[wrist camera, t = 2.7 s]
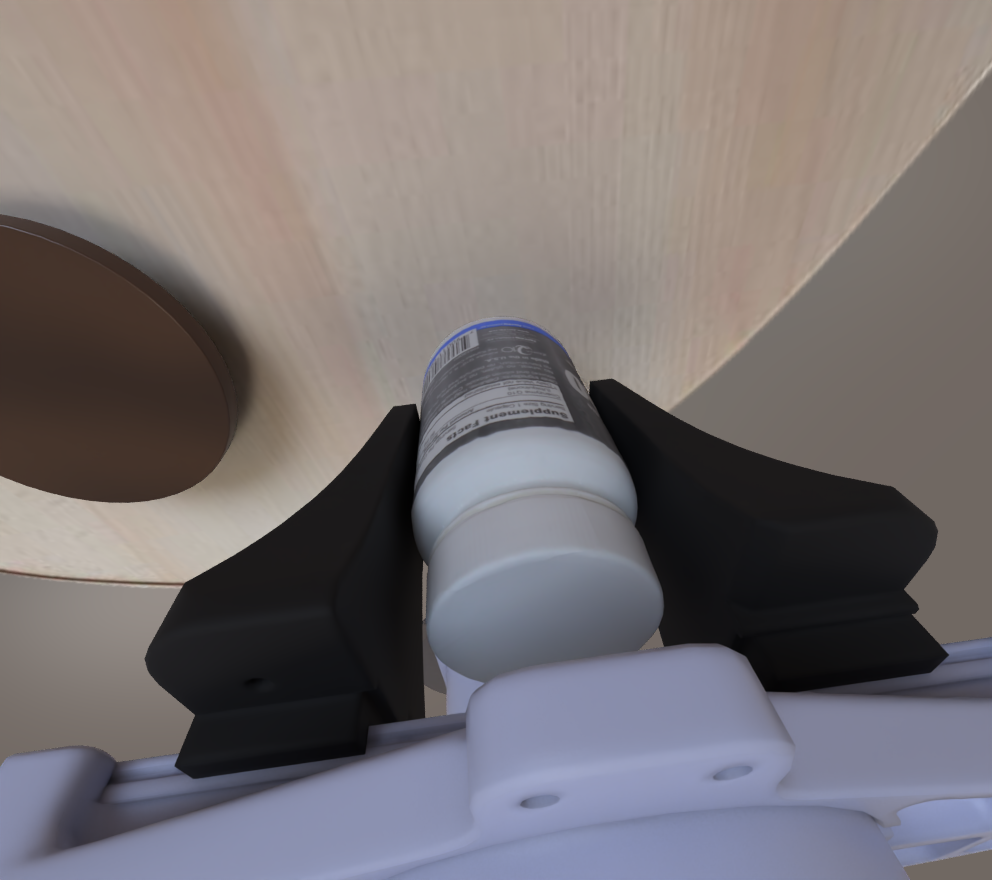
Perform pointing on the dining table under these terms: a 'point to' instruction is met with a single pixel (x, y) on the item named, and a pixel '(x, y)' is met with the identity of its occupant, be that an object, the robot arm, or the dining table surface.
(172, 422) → the stand
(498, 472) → the pill bottle
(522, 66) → the dining table surface
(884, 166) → the dining table surface
